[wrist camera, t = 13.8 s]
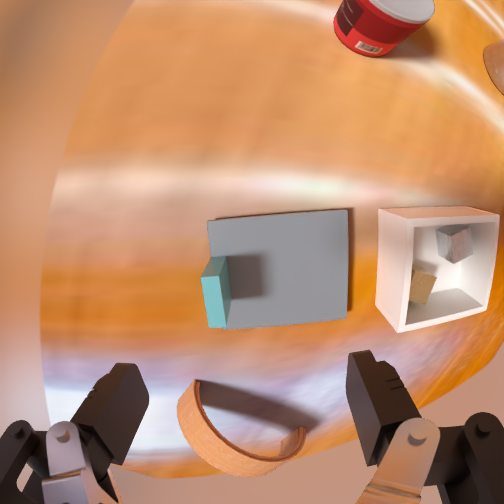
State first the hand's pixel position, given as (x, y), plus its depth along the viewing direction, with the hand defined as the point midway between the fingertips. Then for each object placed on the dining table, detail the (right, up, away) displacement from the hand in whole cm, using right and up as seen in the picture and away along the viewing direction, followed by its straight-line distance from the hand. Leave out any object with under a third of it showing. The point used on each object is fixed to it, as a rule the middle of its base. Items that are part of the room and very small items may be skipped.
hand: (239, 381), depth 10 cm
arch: (-1, -21, +29) cm, 36 cm away
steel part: (+25, +6, +20) cm, 33 cm away
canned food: (+14, +31, +15) cm, 37 cm away
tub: (+22, +4, +22) cm, 31 cm away
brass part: (+20, +2, +22) cm, 29 cm away
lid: (+4, +3, +23) cm, 23 cm away
